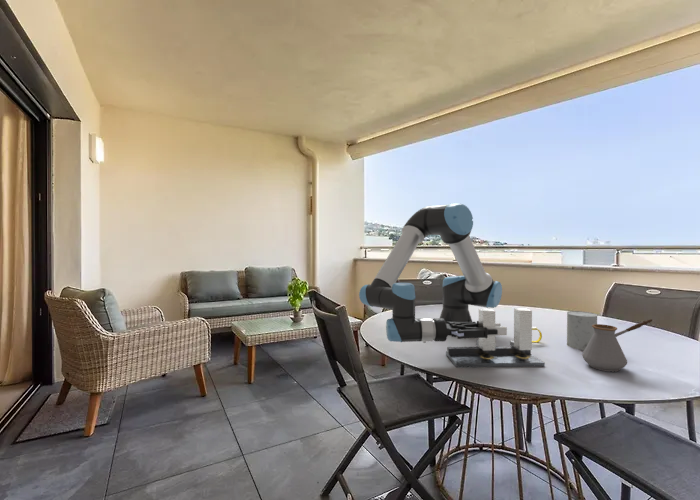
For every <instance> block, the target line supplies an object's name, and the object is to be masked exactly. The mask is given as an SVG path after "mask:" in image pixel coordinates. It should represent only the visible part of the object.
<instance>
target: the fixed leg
mask: <svg viewBox="0 0 700 500" xmlns="http://www.w3.org/2000/svg"><path fill="white" fill-rule="evenodd" d="M532 327H533V310H531V309H529V308H526V307H524V308H523V307H521V308H520V307H519V308H518V307H517V308H513V340H509V346H512V347H514V348H515V349H517V350H521V355H525V350H531V351H532V350H533V349H532V348H533V343H532V341H533V333H532V332H533V330H532Z"/></svg>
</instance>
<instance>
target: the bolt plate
mask: <svg viewBox="0 0 700 500" xmlns="http://www.w3.org/2000/svg"><path fill="white" fill-rule="evenodd" d="M446 349H447V350H446V351H445V355H446V357H447V358H448V359H449V360H450V361H451V363H452V364H453V365H454V366H455V367H456V368H509V367H510V368H512V367H515V368H520V367H521V368H523V367H526V368H527V367H530V368H531V367H545V366H546V365H545V362H544V361H543V360H541V359H539V357H537V356H535V355H533V354H531V353H532V350H525V355H521V350H517V349H515V348H514V347H512V346H511V345H509V346H508V345H507V346H495V350H489V356H486V355H485V351H483V350H482V349H480V348H479V347H478V346H447V347H446Z"/></svg>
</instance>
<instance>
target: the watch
mask: <svg viewBox="0 0 700 500" xmlns="http://www.w3.org/2000/svg"><path fill="white" fill-rule="evenodd" d="M536 330H537V332H539V333H538V334H539V336H538V339H536V340H532V344H534V343H537V344H538V343H540V342H541V341H542V338H543V334H542V332H541V330H540V329H538V327H537V326H532V331H536Z"/></svg>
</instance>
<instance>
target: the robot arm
mask: <svg viewBox="0 0 700 500" xmlns="http://www.w3.org/2000/svg"><path fill="white" fill-rule="evenodd" d="M473 219H474V218H473V214H472V211H471V210H470V208H469V207H468V206H467V205H466V204H462V203H455V202H454V203H449V204H442V205H441V204H439V205H428V206H424V207H422V208H420V209H418V210H417V211H416V212H414V214H413V215H411V216H410V218H408V220H407V221H406V222H405V224H404V225H403V227H402V229H401V235H400V236H399V238H398V240H397V241H396V243H395V244H394V246H393V248H392V250H391V251H390V253H389V254H388V256H387V258H386V260H385V261H384V262H383V264H382V266H381V268H380V269H379V270H378V272H377V273H376V275H375V277H374V279H373V280H372V282H371V283H368V284H364V285H363V286H361V287H360V289H359V292H358V293H359V294H358V295H359V296H358V297H359V300H360V302H361V304H363V305H366V306H369V307H375V308H382V309H386V310H391V311H392V314H391V315H392V317H391V318H388V319H386V324H385V327H386V328H385V330H386V333H385V334H386V339H387V340H388V341H389V342H396V343H397V342H398V343H406V342H407V343H411V342H422V343H423V344H425V343H427V342H433V341H434V342H446V341H447V339H448V338H447V337H448V336H450V337H452V338H457V339H458V340H459V339H460V340H461V339H479V338H487V337H488V336H495V337H496V336H497V337H498V336H507V335H508V331H507V330H508V326H501V323H500V322H495V327H486V328H479V320H477V321H473V319H472V316H471V313H470V310H469V306H475V307H481V308H485V309H493V308H497V307H498V306H499V305H500V302H501V299H502V296H503V295H502V294H503V285H502V283H501V282H500V281H497V280H495V281H494V280H493V277H492V275H491V274H490V273H488V272H486V270H485V268H484V266H483V263H482V261H481V259H480V257H479V254H478V252H477V250H476V248H475V245H474V243H473V241H472V239H471V237H470V235H471V233H472V229H473V226H474V220H473ZM428 236H440V238H441V241H442V242H443V244H444V243H445V244H446V245H448V246H449V248H450V250H451V252H452V254H453V256H454V258H455V260H456V262H457V264H458V267H459V269H460V271H461V273H462V275H455V276H448V277H444V278H443V280H442V285H441V287H442V310H441V312H440V315H439V318H437V317H436V318H431V317H428V318H416V297H417V296H416V291H415V289H416V288H415V285H414V284H413V283H411V282H397V281H398V280H399V278H400V276H401V274H402V272H403V271H404V270H405V268H406V266H407V264H408V262H409V260H410V258H411V257H412V255H413V254H414V252H415V251H416V248H417V247H418V246H419V244H420V243H422V242H424V240H425V239H426V237H428Z"/></svg>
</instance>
